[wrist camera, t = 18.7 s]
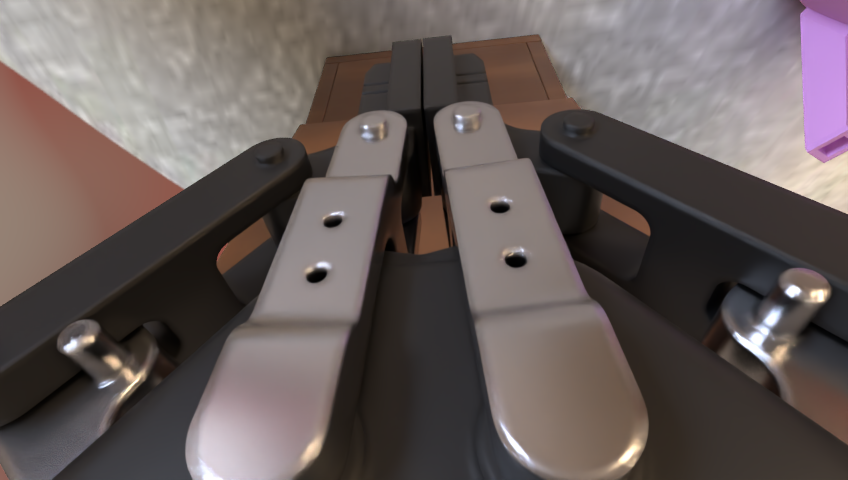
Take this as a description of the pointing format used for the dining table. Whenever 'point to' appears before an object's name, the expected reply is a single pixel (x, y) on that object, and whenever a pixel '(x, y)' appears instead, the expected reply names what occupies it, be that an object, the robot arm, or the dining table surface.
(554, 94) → the chest
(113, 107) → the dining table surface
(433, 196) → the chest lid
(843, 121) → the teakettle
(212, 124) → the dining table surface
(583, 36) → the dining table surface
